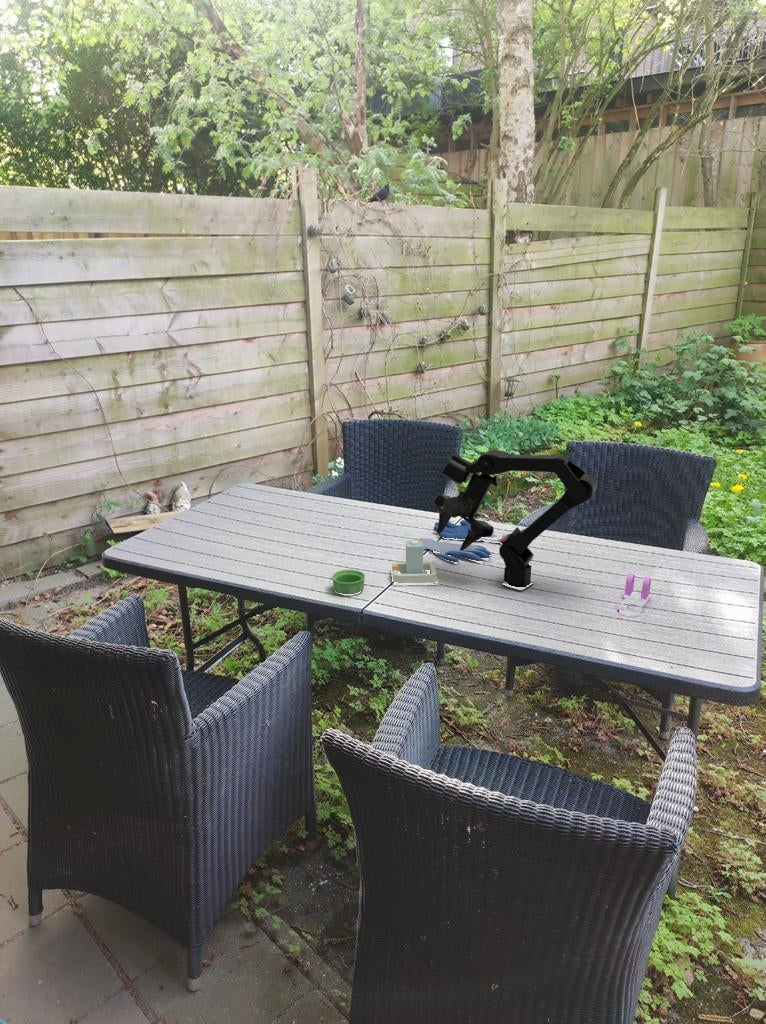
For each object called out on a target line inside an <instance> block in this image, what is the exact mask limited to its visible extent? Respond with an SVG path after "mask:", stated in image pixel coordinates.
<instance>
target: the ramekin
mask: <svg viewBox="0 0 766 1024" xmlns="http://www.w3.org/2000/svg"><path fill="white" fill-rule="evenodd" d="M331 580H332V584H333V591H334V590H335V591H336V592H337V593H342V594H355V593H358V592H360V591H362V590H363V591H364V589H363V588H364V585H365V580H366V575H365V573H364V572H363V571H360V570H357V569H342V570H338V571H336V572H334V573H333V574H331ZM335 591H334V592H335ZM337 593H336V594H337Z"/></svg>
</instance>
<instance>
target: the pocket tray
mask: <svg viewBox="0 0 766 1024" xmlns="http://www.w3.org/2000/svg"><path fill="white" fill-rule="evenodd" d="M391 564H392V565H391V566H392V567H391V569H392V571H393V580H394V582H398V583H426V582H427V583H432V582H437V578H438V576H437V575H438V573H437V570H436V567H435V563H434V562H430V561H423V570H424V571H425V570H430V574H398V571H406V561H400V562H393V563H391Z"/></svg>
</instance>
